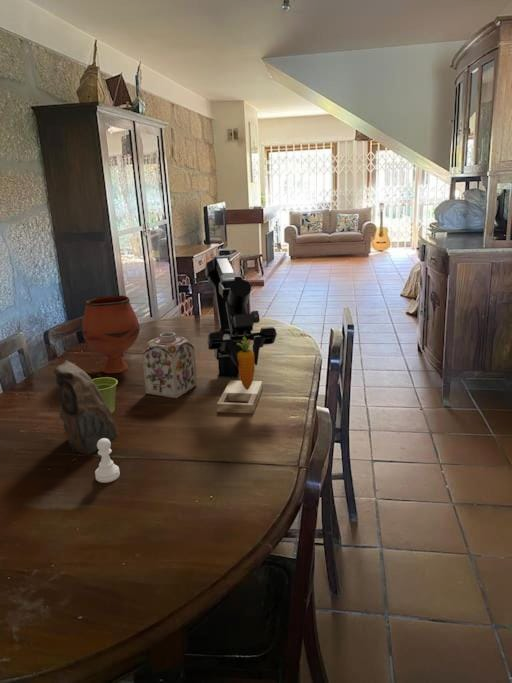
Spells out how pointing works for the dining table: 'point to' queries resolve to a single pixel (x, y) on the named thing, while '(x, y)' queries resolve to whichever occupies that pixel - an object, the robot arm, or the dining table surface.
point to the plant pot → (107, 390)
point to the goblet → (110, 329)
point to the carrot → (246, 364)
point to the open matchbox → (239, 397)
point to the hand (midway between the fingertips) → (247, 365)
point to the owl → (83, 409)
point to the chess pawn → (106, 463)
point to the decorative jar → (169, 366)
